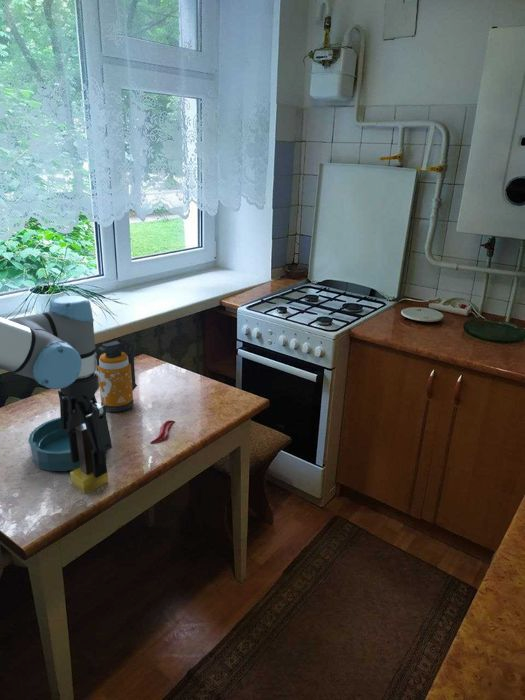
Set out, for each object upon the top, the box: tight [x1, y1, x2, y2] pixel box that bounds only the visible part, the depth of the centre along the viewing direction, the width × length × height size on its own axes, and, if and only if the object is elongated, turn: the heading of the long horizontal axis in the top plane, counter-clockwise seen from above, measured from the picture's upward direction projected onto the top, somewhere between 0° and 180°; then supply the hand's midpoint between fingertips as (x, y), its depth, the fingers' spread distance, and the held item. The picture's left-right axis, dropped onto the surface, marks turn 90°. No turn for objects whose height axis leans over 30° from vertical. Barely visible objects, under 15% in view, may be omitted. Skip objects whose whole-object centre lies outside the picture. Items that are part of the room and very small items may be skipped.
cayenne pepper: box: [150, 419, 176, 444], centre depth 131 cm, size 12×5×2 cm, turn 154°
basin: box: [27, 415, 107, 472], centre depth 120 cm, size 18×18×6 cm
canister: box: [97, 338, 138, 413], centre depth 141 cm, size 9×11×20 cm
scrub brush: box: [69, 423, 109, 495], centre depth 107 cm, size 6×5×14 cm
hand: (89, 466), depth 109 cm, fingers open, 8 cm apart
